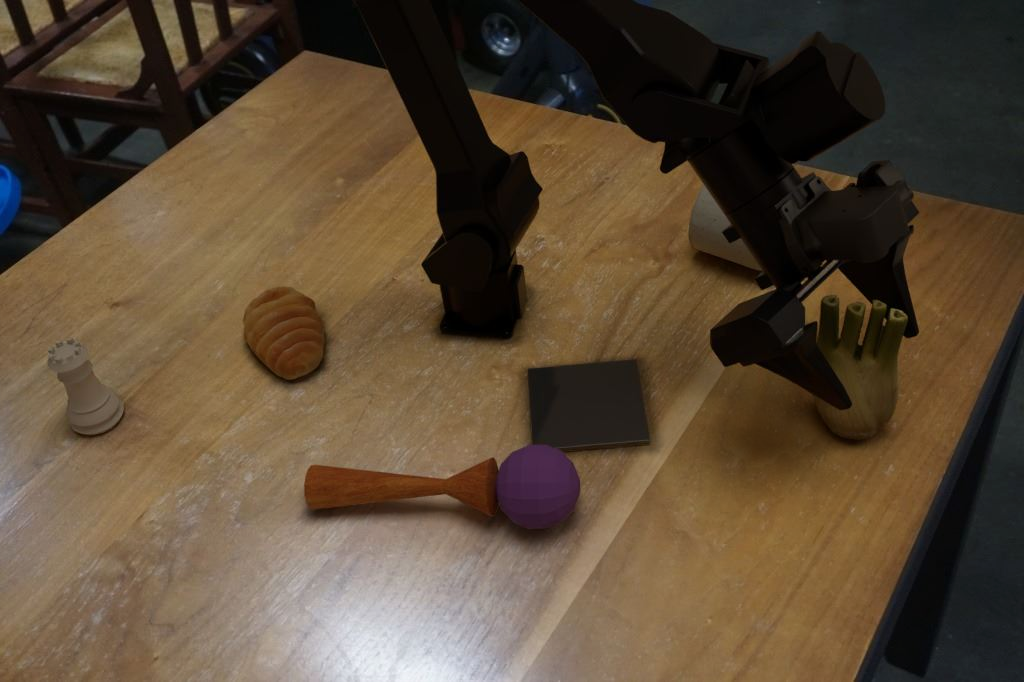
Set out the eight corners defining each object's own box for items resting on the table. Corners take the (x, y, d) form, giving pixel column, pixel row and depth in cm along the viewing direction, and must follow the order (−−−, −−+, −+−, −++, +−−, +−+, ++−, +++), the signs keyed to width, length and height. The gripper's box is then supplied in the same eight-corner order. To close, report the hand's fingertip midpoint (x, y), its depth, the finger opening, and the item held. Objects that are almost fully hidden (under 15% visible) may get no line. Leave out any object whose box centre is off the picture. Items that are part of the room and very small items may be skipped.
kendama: (316, 430, 83) (579, 426, 78) (333, 492, 86) (588, 491, 81) (289, 481, 78) (569, 480, 73) (309, 544, 81) (578, 547, 77)
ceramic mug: (769, 292, 95) (776, 220, 90) (685, 263, 99) (687, 193, 94) (819, 228, 101) (828, 157, 96) (737, 203, 105) (742, 134, 100)
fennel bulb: (798, 416, 85) (812, 298, 77) (842, 385, 87) (860, 267, 78) (857, 459, 81) (879, 340, 73) (902, 426, 83) (927, 307, 75)
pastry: (345, 366, 93) (335, 333, 91) (269, 396, 92) (257, 363, 89) (311, 304, 100) (302, 272, 97) (240, 331, 98) (228, 298, 96)
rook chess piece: (77, 446, 89) (39, 376, 84) (67, 412, 92) (30, 343, 87) (131, 424, 91) (97, 354, 85) (119, 391, 94) (86, 322, 88)
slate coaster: (533, 454, 84) (532, 450, 84) (528, 372, 91) (527, 368, 91) (650, 444, 84) (650, 440, 84) (636, 362, 91) (636, 358, 90)
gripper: (756, 219, 65) (900, 430, 67) (914, 84, 74) (1037, 272, 76) (651, 271, 75) (779, 454, 76) (802, 146, 84) (913, 312, 86)
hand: (881, 371), depth 78 cm, fingers open, 9 cm apart
